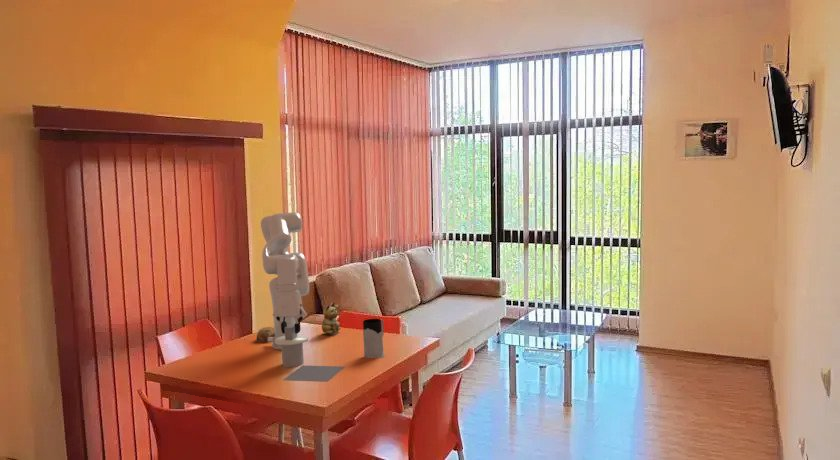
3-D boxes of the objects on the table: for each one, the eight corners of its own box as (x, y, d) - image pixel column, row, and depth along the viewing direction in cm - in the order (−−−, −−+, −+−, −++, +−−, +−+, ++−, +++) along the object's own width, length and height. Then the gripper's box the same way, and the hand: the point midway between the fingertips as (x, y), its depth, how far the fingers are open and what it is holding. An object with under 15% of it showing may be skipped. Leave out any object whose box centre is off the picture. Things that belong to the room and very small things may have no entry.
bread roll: (256, 347, 299) (249, 334, 296) (272, 334, 306) (265, 320, 303) (268, 350, 293) (261, 336, 290) (284, 336, 299) (277, 323, 296)
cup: (306, 362, 258) (304, 338, 257) (300, 368, 250) (299, 343, 249) (286, 362, 259) (284, 338, 258) (280, 368, 250) (278, 343, 250)
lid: (269, 345, 248) (268, 330, 248) (283, 336, 261) (282, 322, 261) (300, 345, 245) (299, 330, 245) (313, 336, 258) (312, 322, 258)
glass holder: (359, 358, 259) (357, 322, 257) (375, 349, 271) (373, 315, 270) (378, 360, 255) (376, 323, 254) (394, 350, 268) (392, 315, 267)
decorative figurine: (333, 336, 297) (331, 305, 296) (317, 335, 300) (315, 304, 299) (342, 331, 306) (340, 301, 305) (327, 330, 309) (325, 300, 308)
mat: (282, 381, 233) (282, 380, 233) (302, 366, 251) (302, 365, 251) (327, 383, 229) (327, 381, 229) (345, 368, 247) (345, 366, 247)
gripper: (264, 289, 250) (267, 334, 251) (303, 289, 246) (306, 335, 247) (272, 286, 257) (276, 330, 259) (311, 286, 253) (314, 330, 255)
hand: (291, 332), depth 253 cm, fingers open, 4 cm apart
